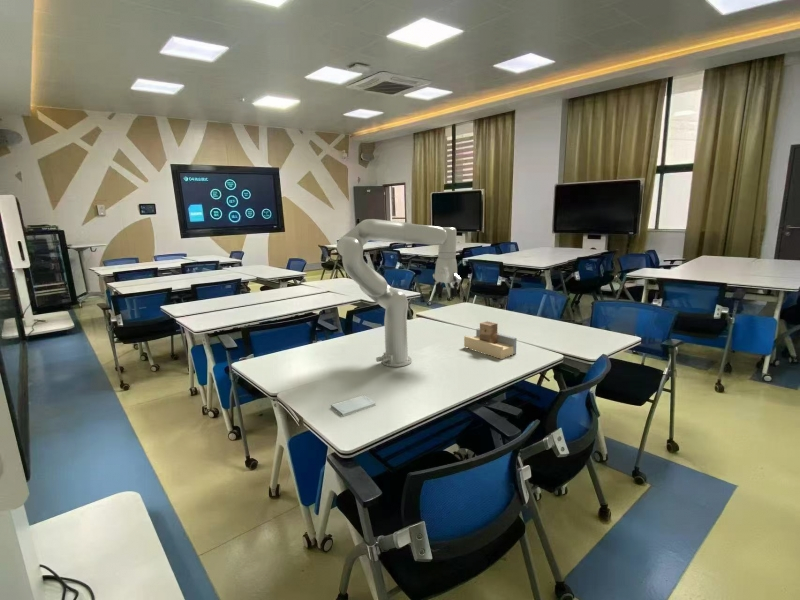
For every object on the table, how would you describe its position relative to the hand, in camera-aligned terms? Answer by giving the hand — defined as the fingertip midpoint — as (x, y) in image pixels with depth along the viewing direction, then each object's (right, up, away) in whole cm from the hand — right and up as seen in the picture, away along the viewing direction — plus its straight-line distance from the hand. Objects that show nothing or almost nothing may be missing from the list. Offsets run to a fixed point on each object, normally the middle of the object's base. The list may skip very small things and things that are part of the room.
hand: (445, 295), depth 179 cm
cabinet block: (+20, -22, +7) cm, 30 cm away
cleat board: (+21, -26, +8) cm, 34 cm away
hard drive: (-36, -38, -44) cm, 68 cm away
